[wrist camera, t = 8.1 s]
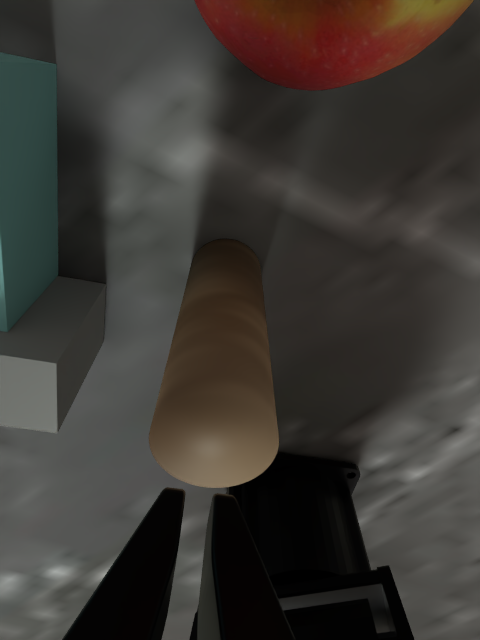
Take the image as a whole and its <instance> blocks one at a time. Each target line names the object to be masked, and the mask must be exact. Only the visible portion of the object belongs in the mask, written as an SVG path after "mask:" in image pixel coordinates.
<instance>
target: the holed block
mask: <svg viewBox="0 0 480 640" xmlns="http://www.w3.org/2000/svg"><path fill="white" fill-rule="evenodd" d="M57 276H58V177H57V64H53V63H49V62H44V61H39V60H35V59H30V58H25V57H20V56H16V55H11V54H6V53H2V52H0V331H3V332H8V331H9V330H10V329H11V328H12V327H13V325H14V324H15V323H16V322H17V321H18V320H19V319H20V318H21V316H22V315H23V314H24V313H25V312H26V311H27V310H28V309H29V307H30V306H31V305H32V304H33V303H34V302H35V301H36V300H37V298H38V297H39V296H40V295H41V294H42V293H43V292H44V291H45V289H46V288H47V287H48V286H49V285H50V284H51V283H52V282H53V280H54V279H55V278H56V277H57Z"/></svg>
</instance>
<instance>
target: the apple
mask: <svg viewBox="0 0 480 640" xmlns="http://www.w3.org/2000/svg"><path fill="white" fill-rule="evenodd" d="M473 1H474V0H195V2H196V5H197V7H198V9H199V11H200V13H201V15H202V17H203V19H204V20H205V22H206V24H207V25H208V27H209V28H210V30H211V31H212V33H213V34H214V35H215V37H216V38H217V39H218V40H219V41H220V42H221V43H222V44H223V45H224V46H225V47H226V48H227V49H228V50H229V51H230V52H231V53H232V54H233V55H234V56H235V57H236V58H237V59H238V60H240V61H241V62H242V63H243V64H244V65H245V66H247V67H248V68H249V69H250V70H252V71H253V72H254V73H256V74H257V75H258V76H260V77H261V78H263V79H265V80H267V81H269V82H272V83H274V84H277V85H280V86H283V87H287V88H292V89H299V90H327V89H332V88H337V87H341V86H345V85H348V84H352V83H356V82H359V81H363V80H366V79H370V78H373V77H375V76H377V75H379V74H381V73H383V72H386V71H388V70H390V69H392V68H394V67H396V66H398V65H401V64H403V63H404V62H406V61H408V60H409V59H411V58H413V57H414V56H416V55H417V54H418V53H420V52H421V51H422V50H423V49H425V48H426V47H427V46H429V45H430V44H431V43H432V42H434V41H435V40H436V39H437V38H438V37H439V36H441V35H442V34H443V33H444V32H445V31H446V30H447V29H448V28H449V27H450V26H452V24H453V23H454V22H455V21H456V20H457V19H458V18H459V17H460V16H461V15H462V14H463V12H464V11H465V10H466V9H467V8H468V7H469V6H470V4H471V3H472V2H473Z"/></svg>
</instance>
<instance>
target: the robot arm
mask: <svg viewBox="0 0 480 640" xmlns="http://www.w3.org/2000/svg"><path fill="white" fill-rule="evenodd" d="M350 472H351V473H350ZM359 477H360V472H359V468H358V466H357V465H356V464H353V463H346V462H339V461H331V460H324V459H317V458H310V457H303V456H295V455H288V454H281V453H277V454H276V456H275V459H274V460H273V462H272V463H271V465H270V466H269V467H268V468H267V469H266V470H265V471H264V472H263V473H262V474H260V475H259V476H257V477H256V478H254V479H252V480H250V481H248V482H245V483H243V484H239V485H236V486H230V487H228V489H227V493H226V494H218V493H217V494H214V496H213V498H212V503H211V508H210V513H209V518H208V523H207V530H206V539H205V549H204V558H203V568H202V577H201V587H200V597H199V605H198V609H197V612H196V613H195V617H194V622H193V626H192V631H191V635H190V640H414V637H413V634H412V631H411V628H410V626H409V623H408V620H407V617H406V614H405V611H404V608H403V605H402V602H401V599H400V596H399V594H398V591H397V588H396V585H395V582H394V579H393V576H392V573H391V570H390V567H389V565H387V566H381V567H377V569H376V570H371V568H370V564H369V560H368V557H367V553H366V549H365V545H364V542H363V538H362V534H361V530H360V526H359V523H358V519H357V515H356V511H355V508H354V504H353V500H352V496H351V495H352V493H353V490H354V488H355V486H356V484H357V482H358V480H359ZM184 501H185V491H184V490H183V489H176V488H165V489H164V490H163V491H162V492H161V493H160V495H159V496H158V498H157V499H156V501H155V502H154V504H153V505H152V507H151V508H150V510H149V511H148V513H147V514H146V516H145V517H144V519H143V520H142V522H141V523H140V525H139V526H138V528H137V529H136V531H135V532H134V534H133V535H132V536H131V538H130V539H129V541H128V542H127V544H126V545H125V547H124V548H123V550H122V551H121V553H120V554H119V556H118V557H117V559H116V560H115V562H114V563H113V565H112V566H111V568H110V569H109V571H108V572H107V574H106V575H105V577H104V578H103V580H102V581H101V583H100V584H99V586H98V587H97V589H96V590H95V592H94V593H93V595H92V596H91V597H90V599H89V600H88V602H87V603H86V605H85V606H84V608H83V609H82V611H81V612H80V614H79V615H78V617H77V618H76V620H75V621H74V623H73V624H72V626H71V627H70V629H69V630H68V632H67V633H66V635H65V636H64V638H63V639H62V640H161V639H162V635H163V631H164V627H165V622H166V618H167V613H168V607H169V602H170V595H171V589H172V583H173V577H174V571H175V565H176V558H177V552H178V546H179V539H180V532H181V524H182V517H183V509H184Z"/></svg>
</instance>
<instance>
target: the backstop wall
mask: <svg viewBox="0 0 480 640" xmlns="http://www.w3.org/2000/svg"><path fill="white" fill-rule="evenodd" d="M105 300H106V284H103V283H97V282H91V281H85V280H79V279H73V278H67V277H62V276H57V277H56V278H55V279H54V280H53V282H52V283H51V284H50V285H49V286H48V287H47V288H46V289H45V291H44V292H43V293H42V294H41V295H40V296H39V297H38V298H37V300H36V301H35V302H34V303H33V304H32V305H31V306H30V307H29V309H28V310H27V311H26V312H25V313H24V314H23V315H22V316H21V318H20V319H19V320H18V321H17V322H16V323H15V324H14V325H13V327H12V328H11V329H10V330H9V331H8V332H3V331H0V426H8V427H15V428H22V429H30V430H37V431H44V432H52V433H58V431H59V429H60V427H61V425H62V423H63V421H64V419H65V417H66V415H67V413H68V411H69V409H70V407H71V405H72V403H73V401H74V399H75V397H76V395H77V393H78V391H79V389H80V387H81V385H82V383H83V381H84V379H85V377H86V375H87V373H88V371H89V369H90V367H91V366H92V364H93V362H94V360H95V358H96V356H97V354H98V352H99V350H100V348H101V346H102V344H103V341H104V321H105Z"/></svg>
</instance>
